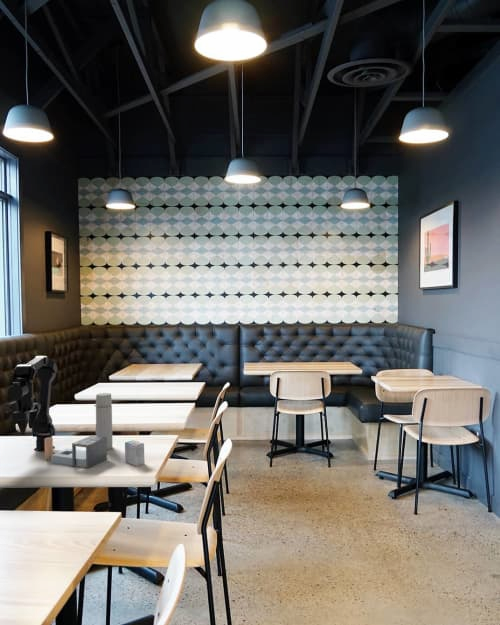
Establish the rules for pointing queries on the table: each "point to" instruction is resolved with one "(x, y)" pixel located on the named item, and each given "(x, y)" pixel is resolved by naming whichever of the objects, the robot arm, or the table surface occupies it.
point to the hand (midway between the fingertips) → (26, 431)
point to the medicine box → (134, 453)
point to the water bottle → (104, 417)
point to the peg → (48, 448)
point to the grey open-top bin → (91, 450)
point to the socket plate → (69, 457)
